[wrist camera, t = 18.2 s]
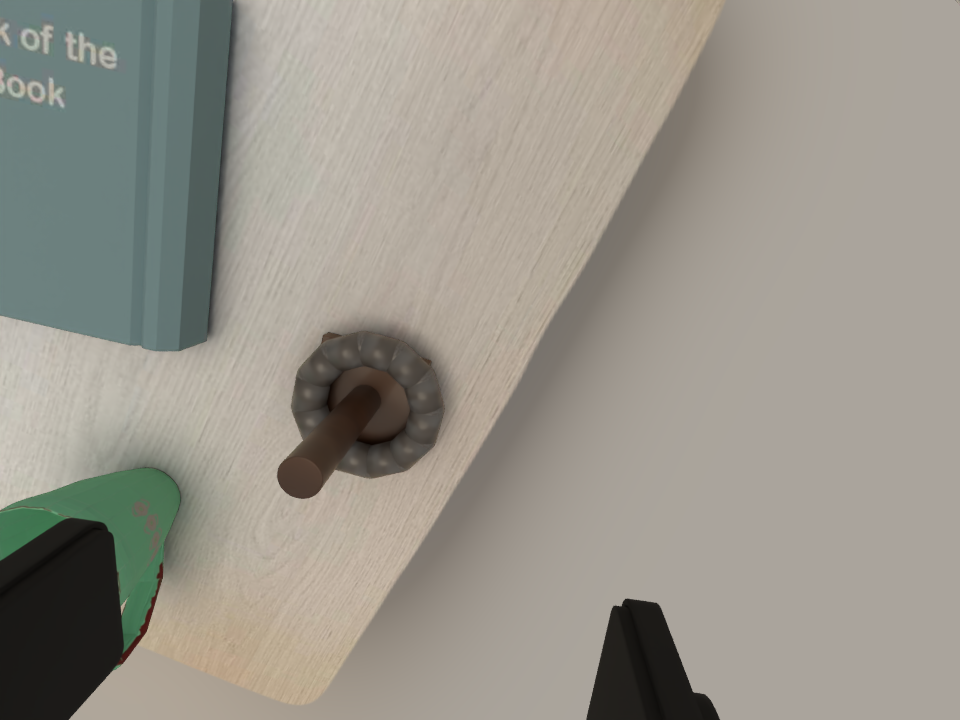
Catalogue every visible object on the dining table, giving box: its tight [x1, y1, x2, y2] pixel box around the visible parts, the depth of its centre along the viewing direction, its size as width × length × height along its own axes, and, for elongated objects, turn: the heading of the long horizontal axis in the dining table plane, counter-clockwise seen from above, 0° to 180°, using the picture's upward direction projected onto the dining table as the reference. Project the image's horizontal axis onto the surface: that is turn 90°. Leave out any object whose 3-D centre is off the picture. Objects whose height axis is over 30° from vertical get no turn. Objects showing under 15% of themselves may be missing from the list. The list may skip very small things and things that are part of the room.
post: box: [277, 332, 431, 499], centre depth 32 cm, size 8×8×13 cm
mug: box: [0, 468, 181, 670], centre depth 37 cm, size 15×10×10 cm
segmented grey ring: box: [291, 331, 445, 479], centre depth 36 cm, size 11×11×2 cm
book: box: [0, 0, 233, 351], centre depth 32 cm, size 23×16×5 cm
